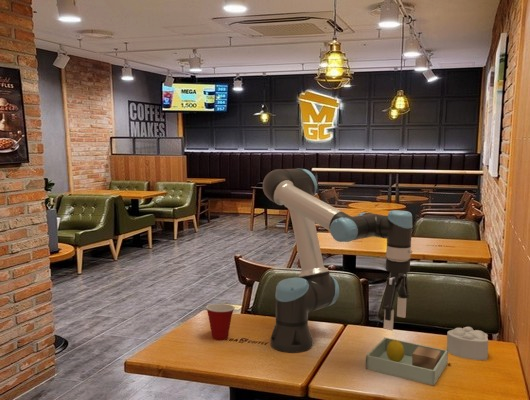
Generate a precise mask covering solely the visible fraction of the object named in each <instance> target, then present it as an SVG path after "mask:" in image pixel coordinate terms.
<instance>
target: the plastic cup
mask: <svg viewBox="0 0 530 400" xmlns="http://www.w3.org/2000/svg"><path fill="white" fill-rule="evenodd" d="M205 309H206V311H207V315H208V320H209V322H208V323H209V327H210V332H211V337H212V338H213V340H215V341H216V340H217V341H223V340H226V339H228V337H229V332H230V328H231V322H232V316H233V313H234V310H235V306H234V305H231V304H227V303H212V304H207V305H206V307H205Z"/></svg>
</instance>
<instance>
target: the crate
mask: <svg viewBox="0 0 530 400" xmlns="http://www.w3.org/2000/svg"><path fill="white" fill-rule="evenodd" d="M393 340H397V341H399V342H400V343H401V344H402V345H403V347H404V357H403V359H402V360H401V361H400V362H395V361H391V360H390V359H389V358H388V356H387V346H388V344H389V343H390V342H391V341H393ZM418 346H420V347H424V348H429V349H434V350H439V351H441V356H440V360H439V362H438V363H437V365H436V366H435V368H434V369H433V370H430V369H426V368H421V367H417V366H413V365H412V354H413V352H414V351H415V350H416V349H417V347H418ZM448 357H449V352H448V350H447V349H441V348H438V347H432V346H428V345H423V344H419V343H418V344H417V343H413V342H410V341H409V342H408V341H405V340H404V341H403V340H399V339H394V338H389V337H383V338H382V339H381V340H380V341H379V342H378V343H377V344H376V345H375V346H374V347H373V348H372V349H371V350H370V351H369V352H368V353H367V354H366V355H365V370H369V371H372V372H377V373H380V374H385V375H389V376H392V377H397V378H401V379H405V380H409V381H413V382H417V383H421V384H425V385H429V386H435V385H436V383H437V381H438V380H439V378H440V376H441V375H442V373H443V372H444V371H445V369H446V367H447V365H448V361H449V360H448Z"/></svg>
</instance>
